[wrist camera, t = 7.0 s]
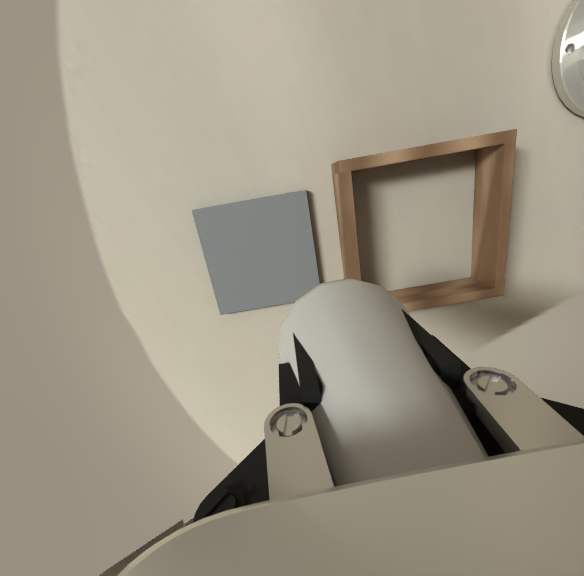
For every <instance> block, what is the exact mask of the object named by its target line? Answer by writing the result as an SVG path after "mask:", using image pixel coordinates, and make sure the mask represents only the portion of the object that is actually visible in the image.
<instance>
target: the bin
mask: <svg viewBox="0 0 584 576" xmlns="http://www.w3.org/2000/svg"><path fill="white" fill-rule="evenodd" d="M516 134H517V129H514V130H508V131H503V132H497V133H492V134H486V135H481V136H475V137H469V138H464V139H458V140H453V141H447V142H441V143H436V144H430V145H425V146H419V147H414V148H408V149H402V150H397V151H391V152H386V153H380V154H375V155H369V156H363V157H358V158H352V159H347V160H341V161H338V162H336V163H334V164H332V165H331V166H332V175H333V184H334V193H335V202H336V210H337V219H338V228H339V237H340V246H341V254H342V263H343V272H344V279H347V278H352V279H356V280H360V281H361V273H360V262H359V251H358V241H357V230H356V219H355V208H354V198H353V187H352V176H351V172H352V171H358V170H363V169H369V168H375V167H380V166H386V165H391V164H397V163H403V162H408V161H414V160H419V159H425V158H431V157H436V156H442V155H447V154H453V153H459V152H464V151H470V150H475V149H476V163H475V189H474V214H473V240H472V265H471V277H470V278H464V279H458V280H453V281H447V282H441V283H435V284H429V285H423V286H417V287H412V288H406V289H400V290H394V291H388V292H389V293H390V294H391V295H393V296H394V297H395V298H396V299H397V300H398V301H399V302H400V303H401V304H402V305H403V306H404V307H405V308H406V310H407V312H408V311H414V310H420V309H426V308H432V307H438V306H444V305H449V304H455V303H461V302H467V301H473V300H479V299H485V298H491V297H497V296H502V295H504V284H505V272H506V259H507V247H508V234H509V222H510V209H511V197H512V184H513V172H514V159H515V147H516Z"/></svg>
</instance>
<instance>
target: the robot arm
mask: <svg viewBox="0 0 584 576" xmlns="http://www.w3.org/2000/svg"><path fill="white" fill-rule="evenodd" d="M552 75H553V80H554V85H555V88H556V90H557V93H558V95H559V98H560V99H561V100H562V102H563V103H564V104H565V106H566V107H567V108H569V109H570V110H571V111H572V112H574V113H575V114H577V115H580V116H582V117H584V0H573V2H572V3H571V5H570V6H569V8H568V10H567V11H566V13H565V16H564V18H563V20H562V22H561V24H560V27H559V29H558V33H557V36H556V39H555V43H554V49H553V56H552ZM402 312H403V314H404V316H405V318H406V320H407V323H408V325H409V327H410V329H411V331H412V334H413V336H414V338H415V339H416V341H417V342H418V344H419V346H420V347H421V349H422V351H423V353H424V355H425V357H426V359H427V361H428V362H429V364H430V366H431V367H432V369H433V370H434V371H435V373H436V374H437V375H438V376H440V378H441V379H442V381H443V382H444V383H446V384H447V385H448V386H449V387H450V388H451V390H452V392H453V394H454V395H455V397H456V399H457V401H458V403H459V404H460V406H461V408H462V410H463V412H464V413H465V415H466V417H467V419H468V420H469V422H470V424H471V426H472V428H473V429H474V431H475V433H476V435H477V436H478V438H479V440H480V442H481V444H482V445H483V447H484V449H485V451H486V453H487V454H488V456H489V457H484V458H479V459H474V460H469V461H463V462H458V463H453V464H448V465H442V466H437V467H432V468H427V469H422V470H416V471H411V472H406V473H401V474H395V475H390V476H385V477H380V478H375V479H370V480H365V481H360V482H355V483H350V484H345V485H340V486H335V487H334V485H333V482H332V478H331V475H330V472H329V468H328V465H327V462H326V458H325V455H324V452H323V449H322V445H321V442H320V438H319V435H318V432H317V429H316V426H315V422H314V419H313V416H312V413H311V412H312V411H313V410H314V409H315V408H316V407H317V406H318V405H319V404H320V403H321V401H322V400H321V394H322V390H323V385H322V382H321V381H320V379H319V378H318V376H317V375H316V372H315V368H314V363H313V360H312V359H311V357H310V356H309V355H308V353H307V352H306V350H305V349H304V347H303V346H302V344H301V343H300V342H299V340H298V339H297V337H296V336H295V334H294V333H293V338H294V346H295V354H296V361H297V369H298V377H299V383H298V381H297V378H296V376H295V374H294V371H293V369H292V367H291V365H290V363H289V362H287V363H282V364H279V392H280V406H279V407H277V408H276V409H274V410H273V411H272V412H271V413H270V414H269V415H268V416H267V418H266V420H265V424H264V432H265V439H264V440H263V441H262V442H261V443H260V444H259V445H258V446H257V447H256V448H255V449H254V450H253V451H252V452H251V453H250V454H249V455H248V456H247V457H246V458H245V459H244V460H243V461H242V462H241V463H240V464H239V465H238V466H237V467H236V468H235V469H234V470H233V471H232V472H231V473H230V474H229V475H228V476H227V477H226V478H225V479H224V480H223V481H221V483H219V484H218V486H216V488H214V489H213V490H212V491H211V492H210V493H209V494H208V495H207V496H206V498H205V499H204V500H203V501H202V502H201V504H200V505H199V507H198V510H197V511H196V513H195V516H194V518H193V519H191V520H190V521H188V522H187V523H184V521H183V520H181V521H179V522H178V523H177V524H175V525H173V526H172V527H170V528H169V529H167V530H166V531H164V532H163V533H161V534H160V535H158V536H157V537H155V538H154V539H152V540H151V541H149V542H148V543H146V544H145V545H143V546H142V547H140V548H139V549H137V550H136V551H134V552H133V553H131V554H130V555H128V556H127V557H125V558H124V559H122V560H121V561H119V562H118V563H116V564H115V565H113V566H112V567H110V568H108V569H107V570H106V571H104V572H103V573H101V574H100V575H99V576H584V409H582V408H578V407H574V406H570V405H567V404H563V403H559V402H555V401H551V400H547V399H544V398H540V397H539V396H538V395H536V394H535V393H534V392H533V391H532V390H531V389H530V388H528V387H527V386H526V385H525V384H524V383H523V382H522V381H520V380H519V379H518V378H517V377H515V376H514V375H512V374H511V373H508V372H506V371H504V370H500V369H497V368H491V367H477V368H473V369H471V368H469V367H468V366H467V365H466V364H465V363H464V362H463V361H462V360H460V359H459V358H458V357H457V356H456V355H455V354H454V353H453V352H451V351H450V350H449V349H448V348H447V347H446V346H445V345H444V344H443V343H441V342H440V341H439V340H438V339H437V338H436V337H435V336H433V335H430V334H429V333H428V332H427V331H426V330H425V329H424V328H422V327H421V326H420V325H419V324H418V323H417V322H416V321H415V320H414V319H413V318H411V317H410V316H409V315H408V314H407V313H406V312H405V311H404V310H403V309H402ZM299 384H300V386H299Z"/></svg>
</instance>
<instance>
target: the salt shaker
mask: <svg viewBox="0 0 584 576" xmlns="http://www.w3.org/2000/svg"><path fill="white" fill-rule="evenodd" d="M402 309H403V310H404V311H405V312H406V313H407V314H408V315H409V313H408V312H407V310H406V308H405V307H404V306H403V305H402V304H401V303H400V302H399V301H398V300H397V299H396V298H395V297H394V296H393V295H391V294H390V293H389V292H388V291H387V290H386V289H385V288H384V287H381V286H379V285H376V284H372V283H368V282H364V281H360V280H356V279H352V278H347V279H342V280H337V281H331V282H326V283H321V284H319V285H317V286H316V287H315V288H313V289H312V290H310V291H309V292H308V293H306V294H305V295H303V296H302V297H300V298H299V299H298V300H296V301H295V303H294V304H293V306H292V308H291V310H290V311H289V313H288V315H287V317H286V318H285V320H284V322H283V324H282V325H281V329H280V349H279V359H280V361H281V364H282V363H287V362H289V363H290V365H291V367H292V369H293V371H294V374H295V376H296V378H297V381H298V383H299V377H298V369H297V361H296V354H295V346H294V338H293V333H294V334H295V336H296V337H297V339H298V340H299V342H300V343H301V344H302V346H303V347H304V349H305V350H306V352H307V353H308V355H309V356H310V357H311V359H312V360H313V363H314V368H315V372H316V375H317V376H318V378H319V379H320V381H321V382H322V385H323V390H322V394H321V400H322V401H321V403H320V404H319V405H318V406H317V407H316V408H315V409H314V410H313V411H312V412H311V413H312V416H313V419H314V422H315V426H316V429H317V432H318V435H319V438H320V442H321V445H322V449H323V452H324V455H325V458H326V462H327V465H328V468H329V472H330V475H331V478H332V482H333V485H334V487H335V486H340V485H345V484H350V483H355V482H360V481H365V480H370V479H375V478H380V477H385V476H390V475H395V474H401V473H406V472H411V471H416V470H422V469H427V468H432V467H437V466H442V465H448V464H453V463H458V462H463V461H469V460H474V459H479V458H484V457H489V456H488V454H487V453H486V451H485V449H484V447H483V445H482V444H481V442H480V440H479V438H478V436H477V435H476V433H475V431H474V429H473V428H472V426H471V424H470V422H469V420H468V419H467V417H466V415H465V413H464V412H463V410H462V408H461V406H460V404H459V403H458V401H457V399H456V397H455V395H454V394H453V392H452V390H451V388H450V387H449V386H448V385H447V384H446V383H444V382H443V381H442V379H441V378H440V376H438V375H437V374H436V373H435V371H434V370H433V369H432V367H431V366H430V364H429V362H428V361H427V359H426V357H425V355H424V353H423V351H422V349H421V347H420V346H419V344H418V342H417V341H416V339H415V338H414V336H413V334H412V331H411V329H410V327H409V325H408V323H407V320H406V318H405V316H404V314H403V312H402ZM409 316H410V315H409ZM299 386H300V384H299Z"/></svg>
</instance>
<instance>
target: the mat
mask: <svg viewBox="0 0 584 576" xmlns="http://www.w3.org/2000/svg"><path fill="white" fill-rule="evenodd" d="M192 213H193V217H194V220H195V224H196V227H197V231H198V235H199V238H200V242H201V246H202V249H203V253H204V257H205V260H206V264H207V268H208V271H209V275H210V279H211V282H212V286H213V289H214V293H215V297H216V300H217V304H218V308H219V311H220V315H223V314H229V313H234V312H240V311H246V310H252V309H258V308H264V307H269V306H275V305H281V304H287V303H293V302H295V301H296V300H298V299H299V298H300V297H302V296H303V295H305V294H306V293H308V292H309V291H310V290H312V289H313V288H315V287H316V286H317V285H319V284H320V283H319V276H318V269H317V262H316V255H315V248H314V241H313V234H312V227H311V220H310V213H309V206H308V199H307V192H306V190H303V191H298V192H292V193H286V194H281V195H275V196H270V197H264V198H258V199H253V200H247V201H241V202H236V203H230V204H225V205H219V206H213V207H208V208H202V209H196V210H192Z"/></svg>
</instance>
